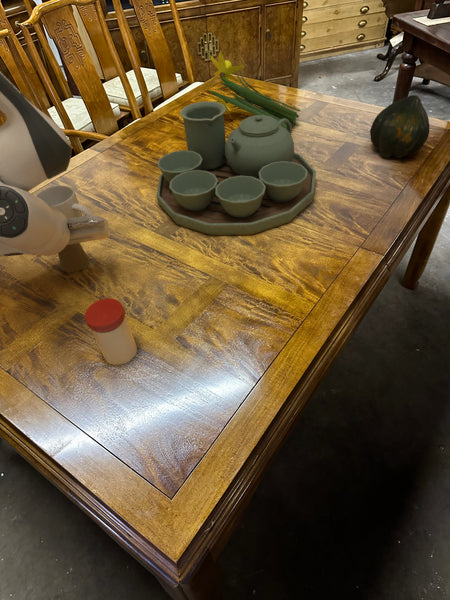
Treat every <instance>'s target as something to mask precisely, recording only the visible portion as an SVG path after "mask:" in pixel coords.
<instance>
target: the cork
mask: <svg viewBox="0 0 450 600" xmlns="http://www.w3.org/2000/svg"><path fill="white" fill-rule="evenodd" d="M57 256H58V259H59V262H60V266H61V269H62V270H63V271H65V272H67V273H75V272H79V271H82V270H83V269H85V268H86V267H87V266H88V264H89V262H90V258H89V257H88V254H87V252H86V251H85V250H84V247H83V246H82V244H81V243H77V244H71V245H66V247H65V248H64V249H63V250H62V251H60V252H59V253H57Z"/></svg>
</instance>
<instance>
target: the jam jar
mask: <svg viewBox="0 0 450 600" xmlns="http://www.w3.org/2000/svg"><path fill="white" fill-rule="evenodd" d="M90 332H91V333H92V335H93V337H94V339H95V341H96V344H97V346H98V348H99V349H100V352H101V354H102V357H103V358H104V360H105V361H106V362H107V364H110V365H112V366H121V365H125V364H126V363H128V362H130V361H132V359H133V358H134V357H135V356H136V354H137V353H138V345H137V343H136V340H135V337H134V336H133V335H134V334H133V332H132V330H131V327H130V324H129V322H128V319H127V316H126V315H125V318H124V320H123V322H122V323H121V325H119V326H118V327H117V328H115V329H113V330H111V331H108V332H102V333H101V332H96V331H92V329H90Z"/></svg>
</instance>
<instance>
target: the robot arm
mask: <svg viewBox="0 0 450 600" xmlns="http://www.w3.org/2000/svg"><path fill="white" fill-rule="evenodd" d="M11 81H12V80H10V79H9V78H8V76H6V75H5V74H4V73H3V72H2V71H1V70H0V111H1V112H2V113H3V114H4V115H5V116H6V120H5V122H4V123H3V124H2V125H0V257H3V258H4V257H12V256H13V257H14V256H23V255H28V256H42V257H51V256H55V255H58V253H59V252H60V251H62V250H63V249H64V248H65V247H66V245H71V244H77V243H80V244H81V243H82V244H83V243H87V242H94V241H99V240H105V239H109V238H110V237H111V229H110V224H109V220H107V219H106V218H105V217H103V216H100V215H97V214H92V215H88V216H85V215H82V217H76V218H69V219H67V218H66V217H65V215H64V214H63V213H61V212H60V211H58V210H57V209H55V208H54V207H52V206H51V205H49V204H47V203H45V202H44V201H43V200H41V199H40V198H38V197H37V196H36V194H34V193H31V192H30V191H32V190H33V189H35V188H36V187H38V186H40V185H41V184H43V183H44V182H46V181H47V180H51V179H53V178H54V177H57V176H59V175H61V174H63V173H65V172H67V171H68V168H69V166H70V163H71V160H72V159H71V158H72V151H73V148H72V146H71V144H70V140H69V138H68V136H67V135H66V133H65V132H64V130H63V129H62V127H60V125H58V123H57V122H55V121H54V120H53V119H52V118H51V117H50V116H48V115H47V114H46V113H45V112H43V111H42V110H40V109H39V108H38V107H37V106H35V104H34V103H33V102H32V101H30V100H29V99H28V98H27V96H26V95H25V94H24V93H23V92H22V91H21V90H20V89H19V88H18V87H17V86H16V85H15V84H14V83H13V82H11Z"/></svg>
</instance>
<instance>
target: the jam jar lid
mask: <svg viewBox="0 0 450 600" xmlns="http://www.w3.org/2000/svg"><path fill="white" fill-rule="evenodd" d="M126 313H127V312H126V311H125V307H124V306H123V304H122V303H121V301H119V300H118V299H116V298H112V297H111V298H107V297H106V298H102V299H99V300H97V301H95V302H93V303H91V304H90V305H89V306H88V307H87V309H86V310H85V313H84V319H85V323H86V325H87V326H88V328H89V329H90V330H91V329H92V331H96V332H101V333H102V332H108V331H111V330H113V329H115V328H117V327H118V326H119V325H121V323H122V322H123V320H124V318H125V316H126ZM92 331H91V332H92Z"/></svg>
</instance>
